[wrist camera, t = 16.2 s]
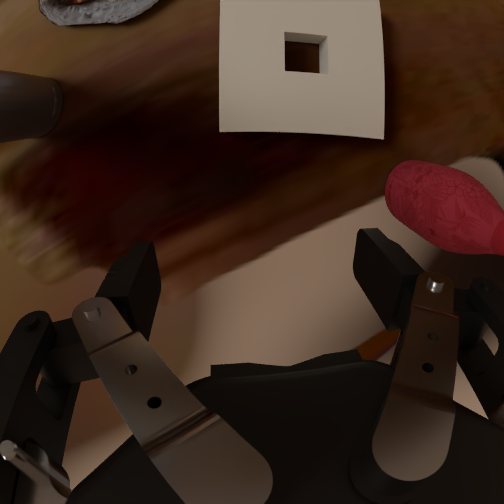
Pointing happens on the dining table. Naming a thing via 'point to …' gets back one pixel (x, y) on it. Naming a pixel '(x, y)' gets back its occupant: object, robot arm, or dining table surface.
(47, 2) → the food plate
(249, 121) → the cover plate
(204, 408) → the robot arm
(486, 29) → the dining table surface
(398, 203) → the wine bottle
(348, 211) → the dining table surface
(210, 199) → the dining table surface
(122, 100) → the dining table surface
